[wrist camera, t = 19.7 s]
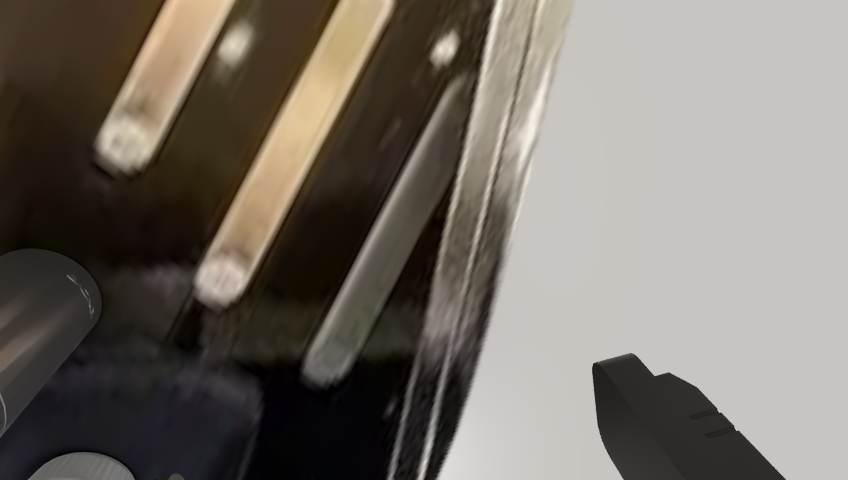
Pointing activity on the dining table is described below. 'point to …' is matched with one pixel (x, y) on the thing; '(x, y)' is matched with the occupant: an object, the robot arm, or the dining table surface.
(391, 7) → the dining table surface
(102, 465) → the ramekin
